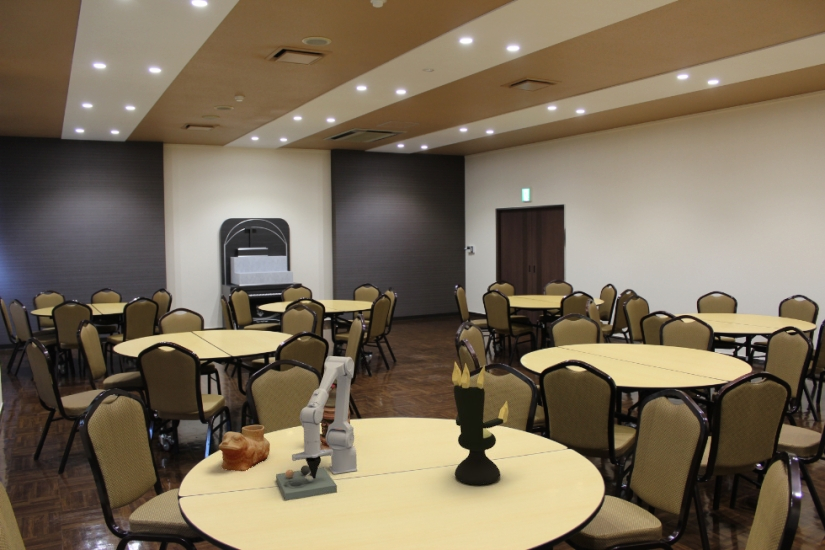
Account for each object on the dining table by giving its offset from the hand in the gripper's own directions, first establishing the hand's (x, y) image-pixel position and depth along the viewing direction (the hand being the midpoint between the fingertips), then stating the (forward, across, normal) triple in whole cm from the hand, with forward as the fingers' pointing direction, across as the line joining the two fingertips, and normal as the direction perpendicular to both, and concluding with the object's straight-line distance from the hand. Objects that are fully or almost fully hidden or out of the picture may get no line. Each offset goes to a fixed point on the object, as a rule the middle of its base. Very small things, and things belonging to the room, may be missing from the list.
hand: (313, 477), depth 234 cm
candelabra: (+4, +57, -17) cm, 59 cm away
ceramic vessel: (+4, -20, +38) cm, 43 cm away
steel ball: (0, -1, 0) cm, 1 cm away
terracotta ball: (0, -7, +7) cm, 10 cm away
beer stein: (+4, +18, +42) cm, 46 cm away
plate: (+4, -2, +3) cm, 6 cm away
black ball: (0, -1, +8) cm, 8 cm away
